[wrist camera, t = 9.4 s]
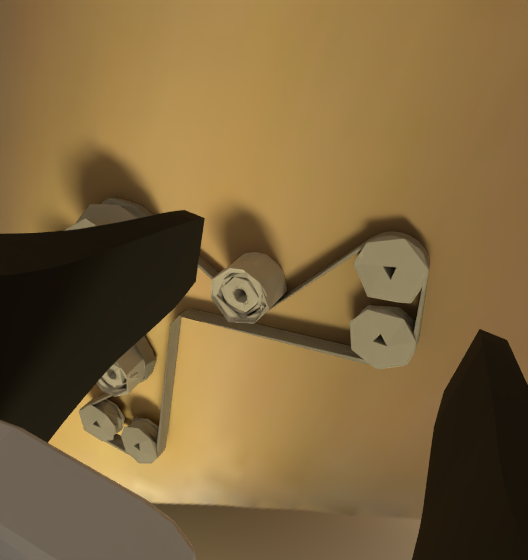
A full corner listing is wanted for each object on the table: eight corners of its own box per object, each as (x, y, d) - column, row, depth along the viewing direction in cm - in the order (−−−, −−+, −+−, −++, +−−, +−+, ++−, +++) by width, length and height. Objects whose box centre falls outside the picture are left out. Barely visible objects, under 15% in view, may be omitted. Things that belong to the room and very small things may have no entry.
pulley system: (15, 296, 37) (139, 456, 38) (-44, 326, 33) (96, 503, 34) (291, 28, 21) (481, 315, 23) (240, 26, 17) (473, 372, 19)
